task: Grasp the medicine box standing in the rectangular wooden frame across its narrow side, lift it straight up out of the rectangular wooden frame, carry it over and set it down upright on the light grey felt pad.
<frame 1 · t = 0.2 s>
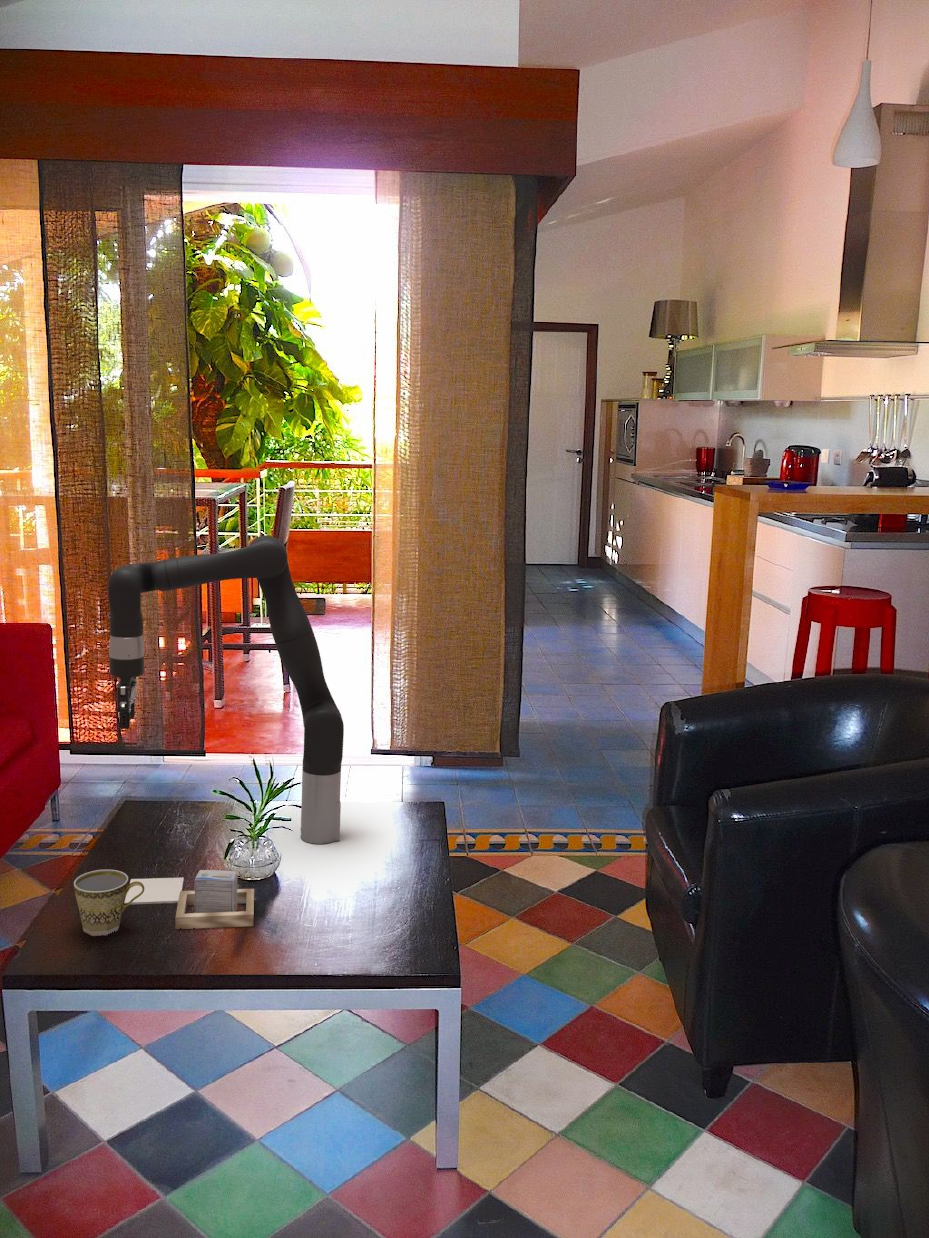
hand: (127, 723, 232), 29 cm above the table, fingers open, 8 cm apart
medicine box: (215, 915, 206), resting in rectangular wooden frame
rectangular wooden frame: (215, 913, 206), on the table
pad: (154, 891, 214), on the table
ceramic cup: (109, 928, 198), on the table
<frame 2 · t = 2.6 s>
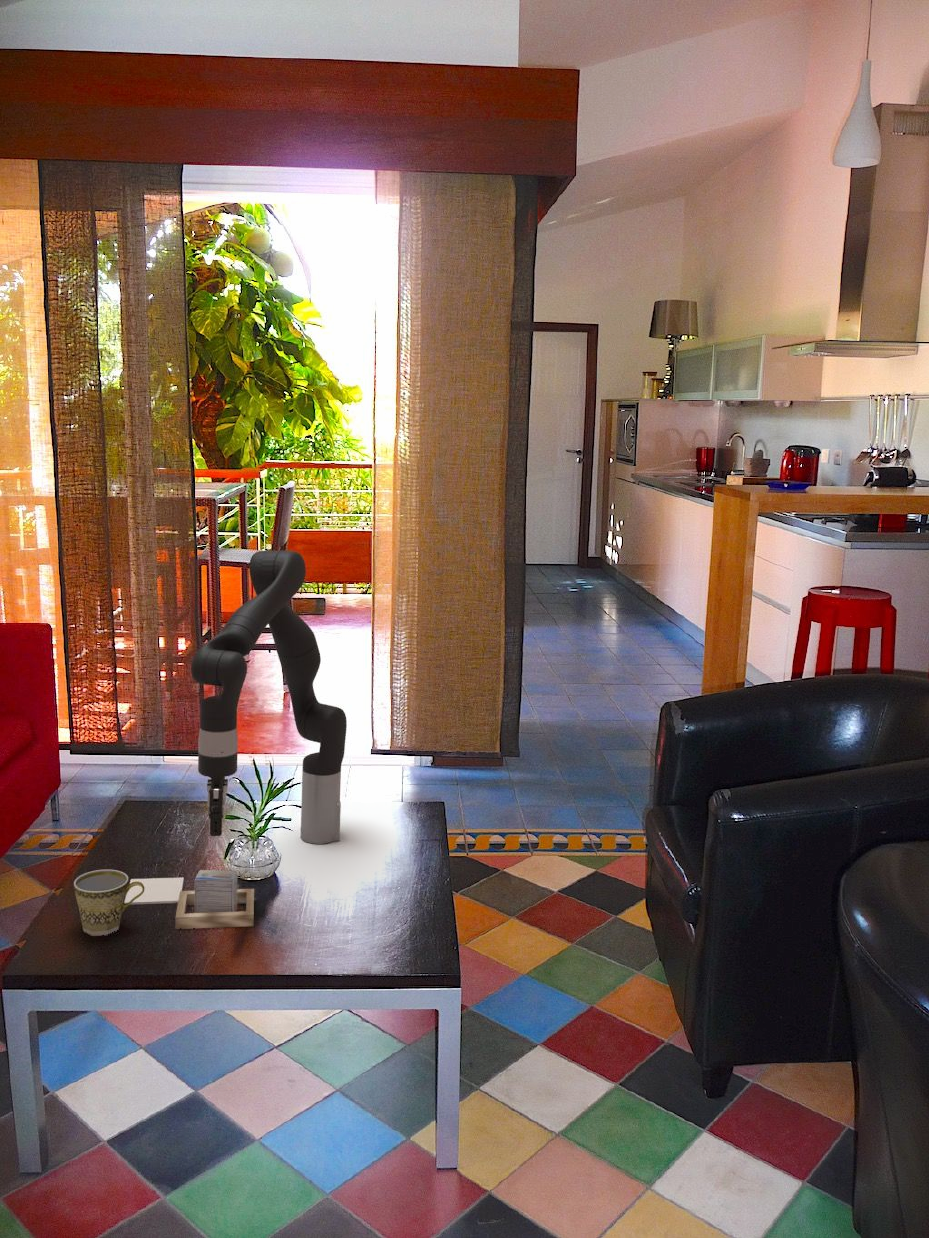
hand: (216, 826, 203), 19 cm above the table, fingers open, 8 cm apart
nothing on the table moved.
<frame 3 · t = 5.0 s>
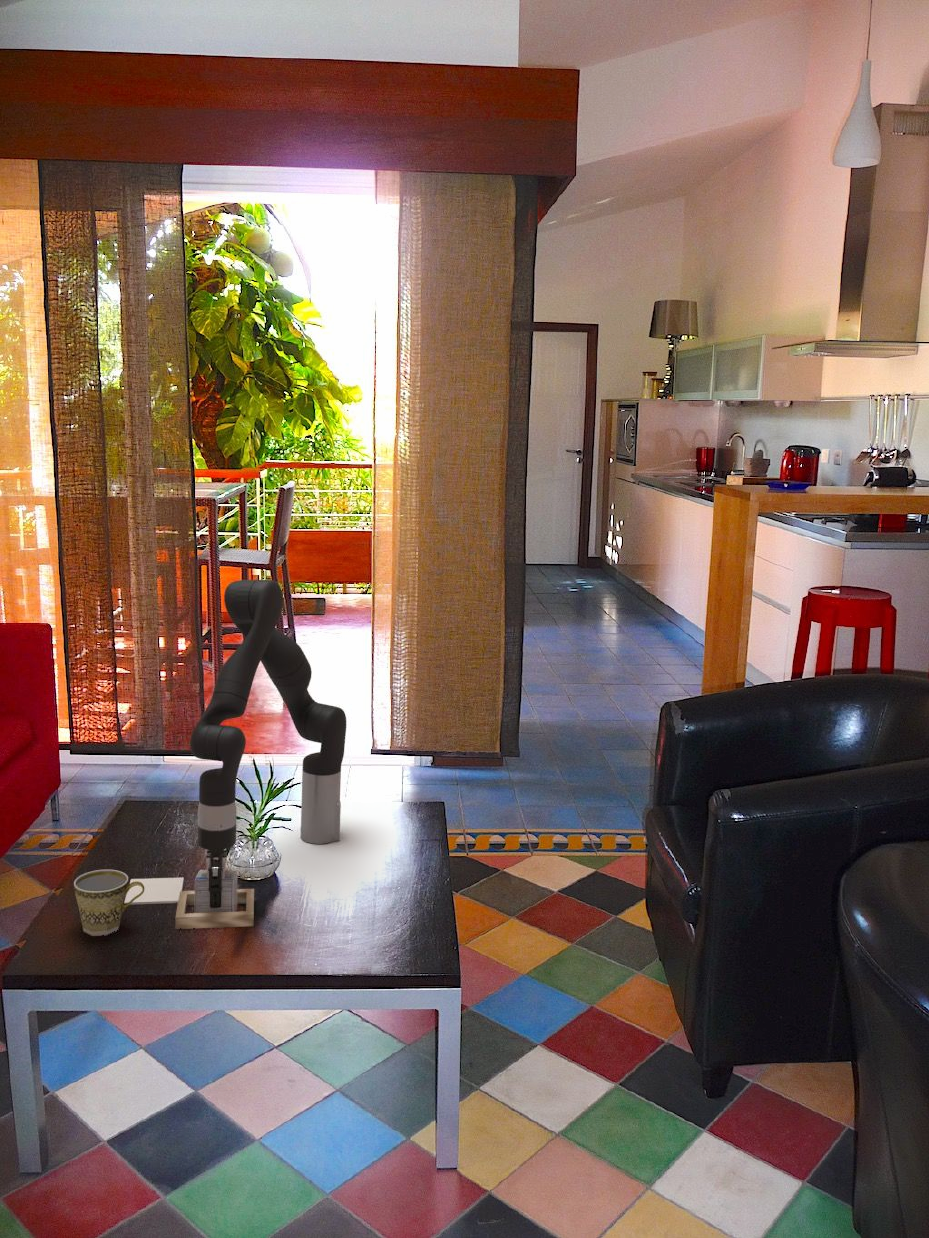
hand: (216, 900, 206), 3 cm above the table, fingers closed on medicine box, 5 cm apart
medicine box: (215, 914, 206), resting in rectangular wooden frame, touching gripper
everything else where it was.
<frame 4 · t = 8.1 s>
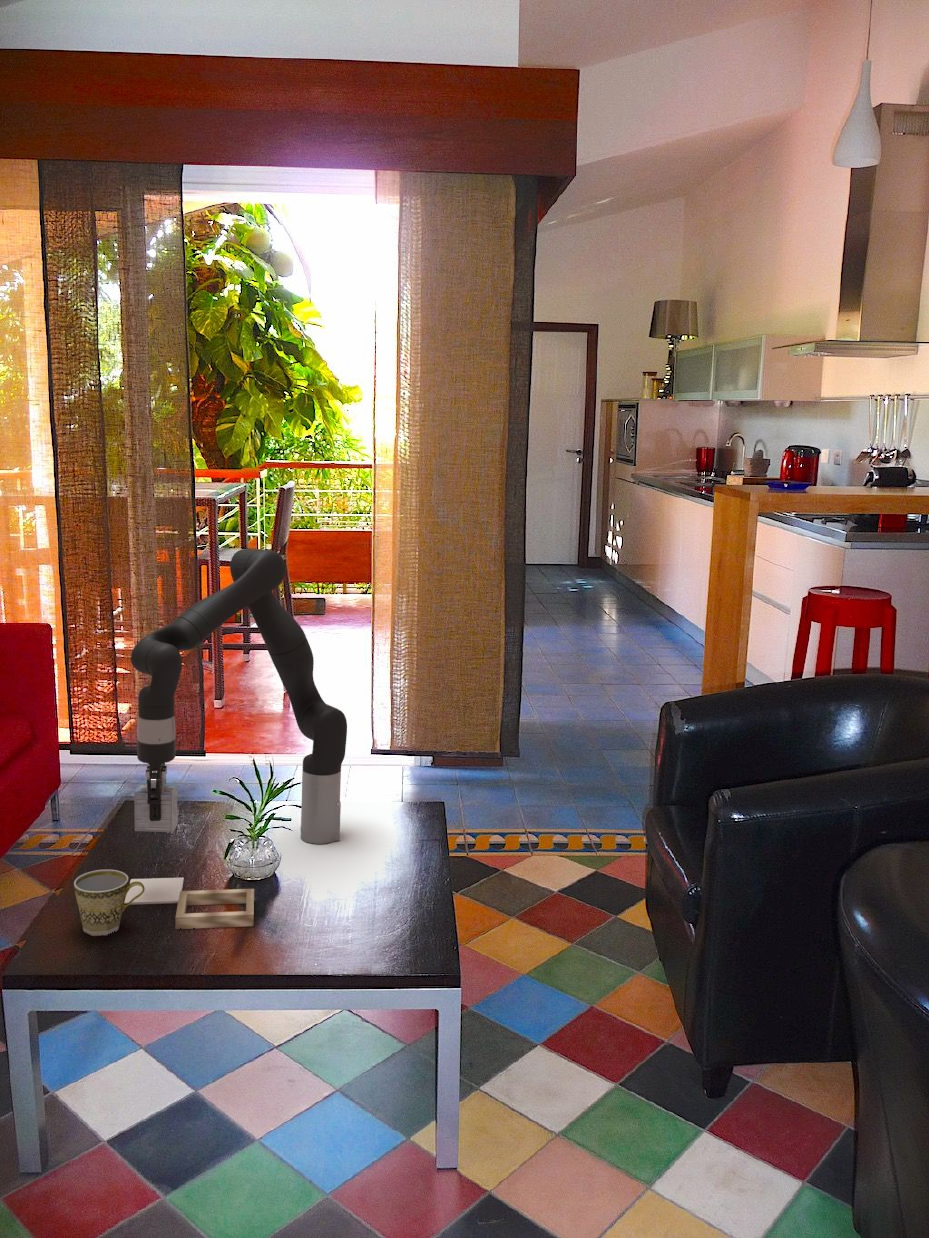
hand: (156, 814, 211), 17 cm above the table, fingers closed on medicine box, 5 cm apart
medicine box: (156, 829, 211), point 14 cm above the table, touching gripper
everything else where it was.
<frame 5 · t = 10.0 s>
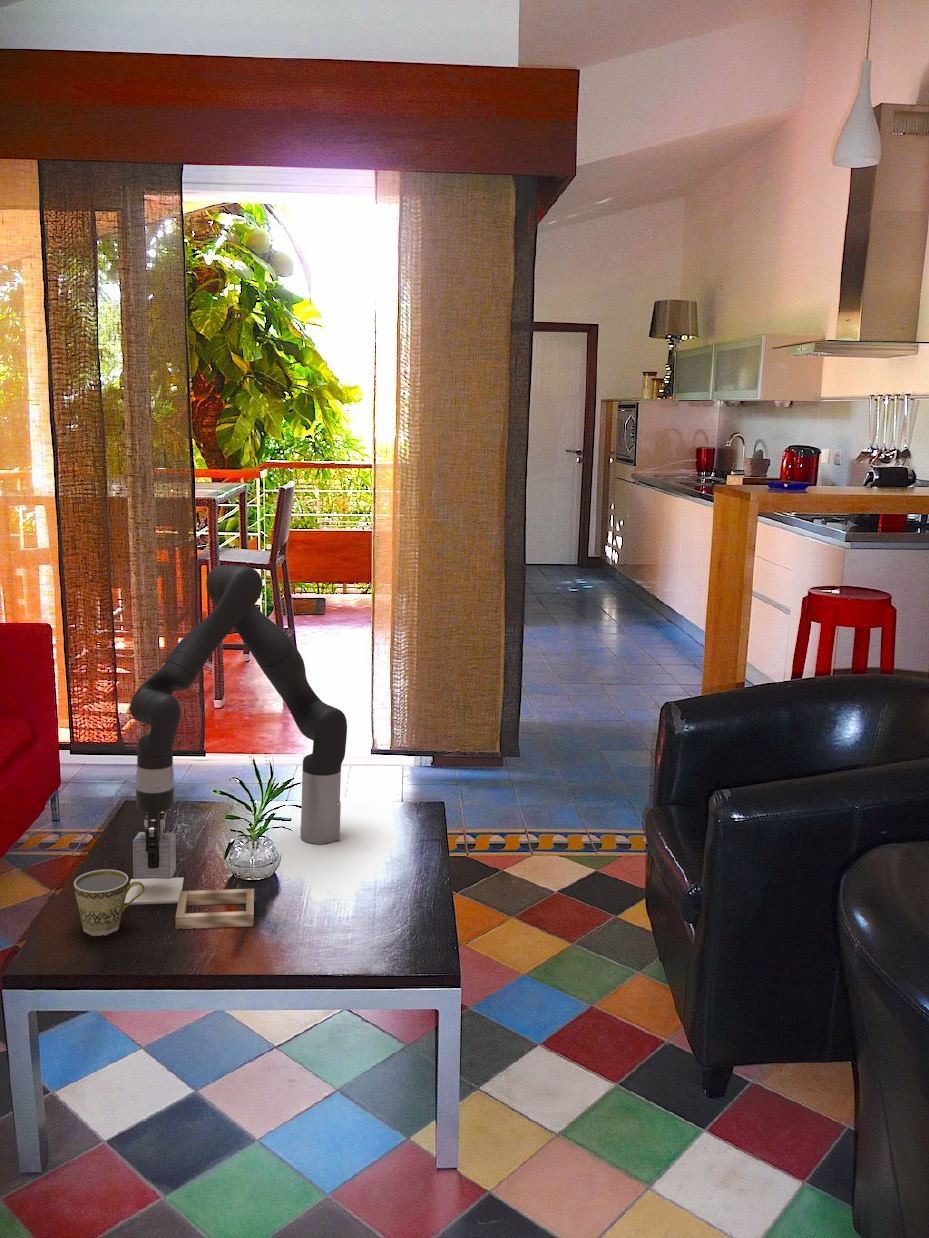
hand: (154, 861, 213), 7 cm above the table, fingers closed on medicine box, 5 cm apart
medicine box: (154, 875, 213), point 4 cm above the table, touching gripper
everything else where it was.
when the fingers open (5 cm above the table, at t = 11.3 s): medicine box drops 1 cm, resting on pad.
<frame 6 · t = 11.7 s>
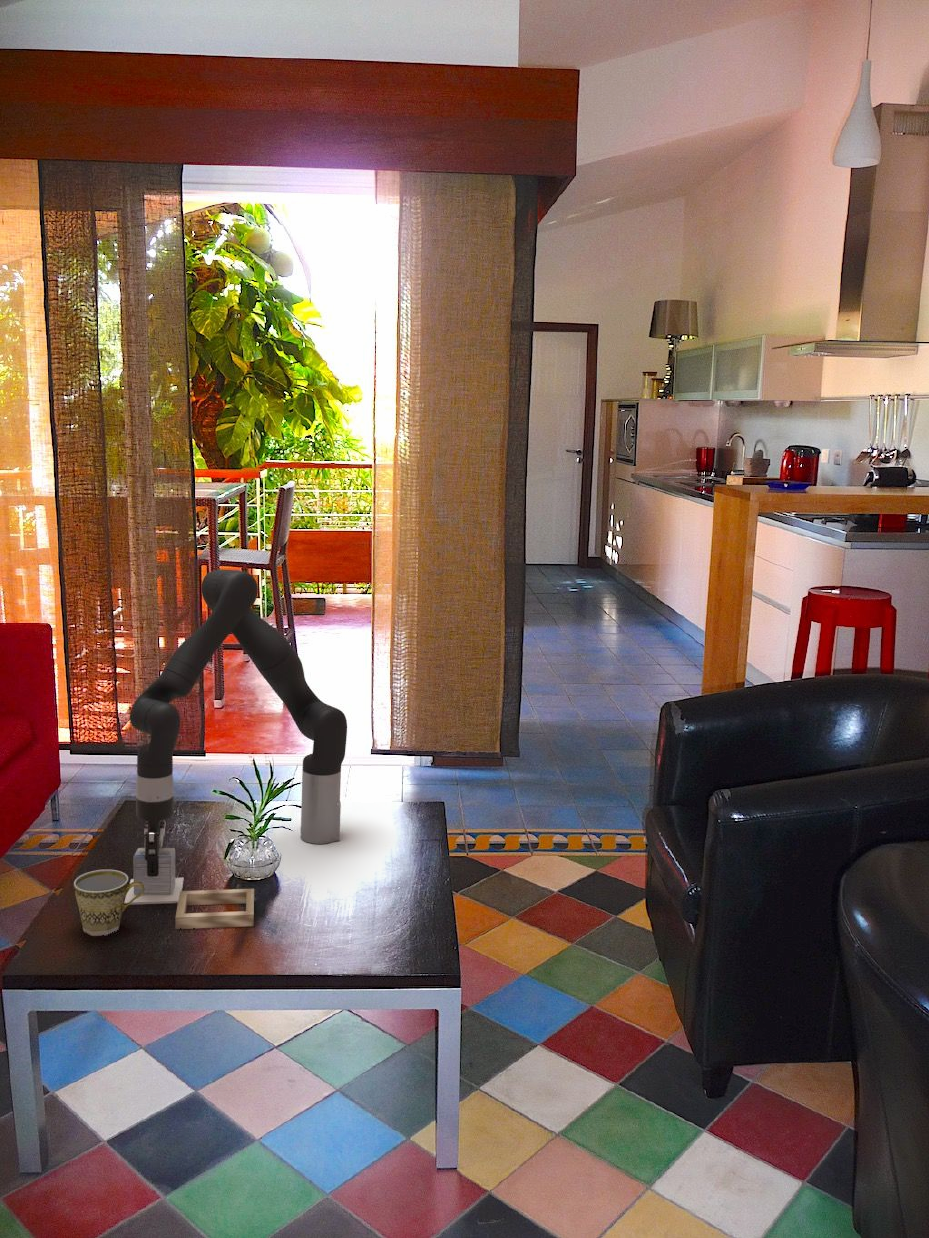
hand: (154, 867, 213), 6 cm above the table, fingers open, 8 cm apart
medicine box: (154, 891, 214), resting on pad
everything else where it was.
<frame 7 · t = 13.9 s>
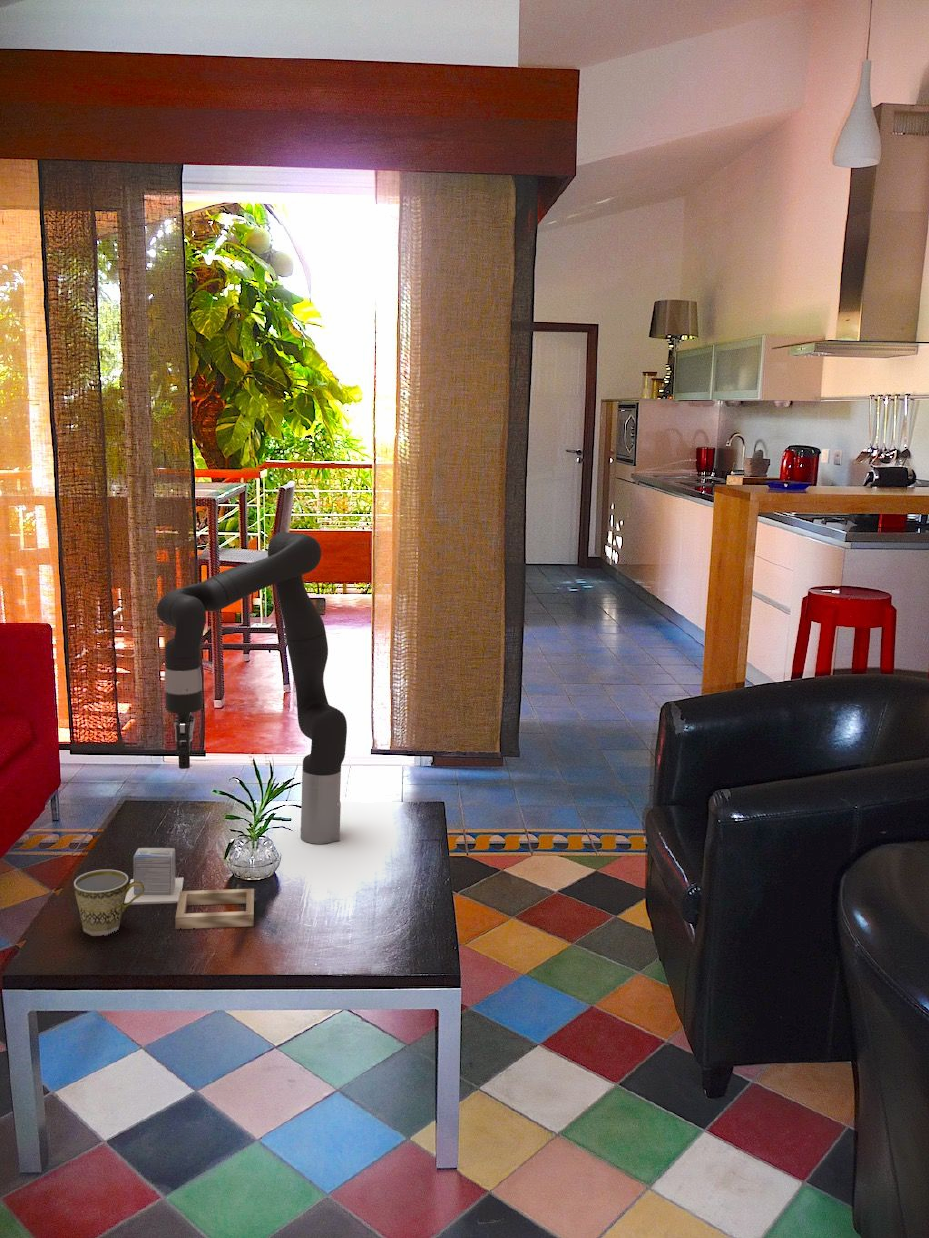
hand: (185, 761, 216), 27 cm above the table, fingers open, 8 cm apart
nothing on the table moved.
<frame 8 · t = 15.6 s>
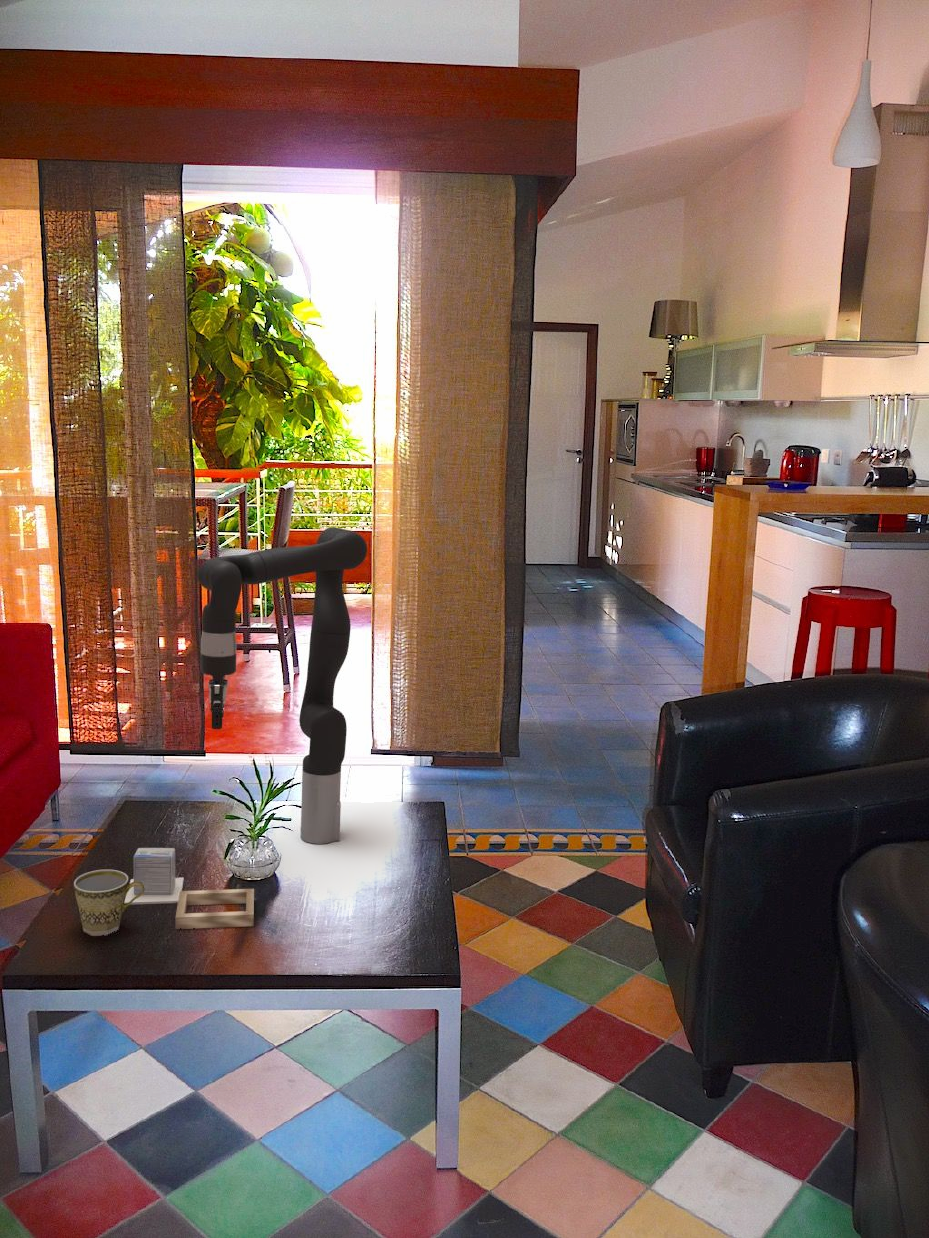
hand: (217, 723, 223), 33 cm above the table, fingers open, 8 cm apart
nothing on the table moved.
at the end: medicine box inside the target area on the pad (0.3 cm from its centre), point 0.3 cm above the pad's base; medicine box tilted 0°; medicine box touching pad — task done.
